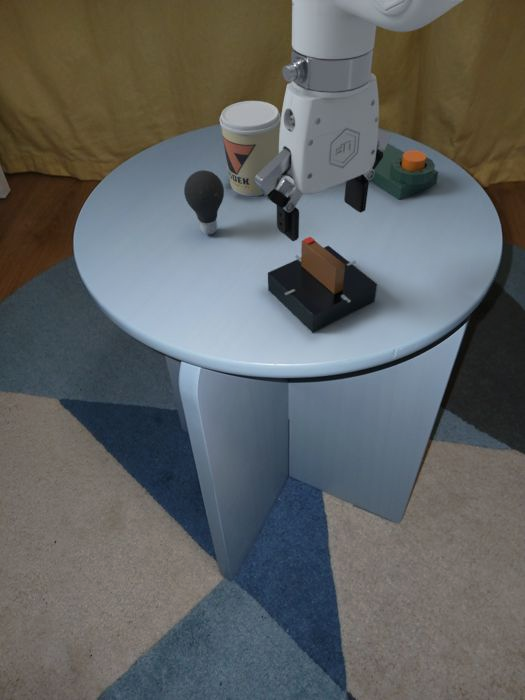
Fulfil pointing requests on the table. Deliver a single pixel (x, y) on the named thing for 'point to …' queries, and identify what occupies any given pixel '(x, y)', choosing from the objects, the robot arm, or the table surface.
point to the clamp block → (320, 293)
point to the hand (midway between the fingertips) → (322, 220)
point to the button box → (402, 175)
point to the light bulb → (205, 198)
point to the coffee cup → (249, 142)
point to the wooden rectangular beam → (322, 265)
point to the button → (413, 160)
